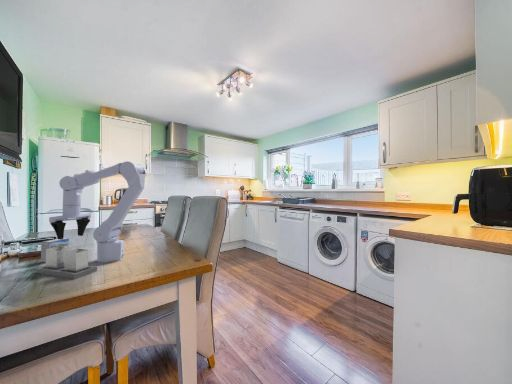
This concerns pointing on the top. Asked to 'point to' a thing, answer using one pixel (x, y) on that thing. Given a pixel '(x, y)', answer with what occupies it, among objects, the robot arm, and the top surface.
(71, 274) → the grey flat frame
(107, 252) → the robot arm
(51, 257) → the block
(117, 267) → the top surface
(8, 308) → the top surface
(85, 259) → the billet
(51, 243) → the medicine box
